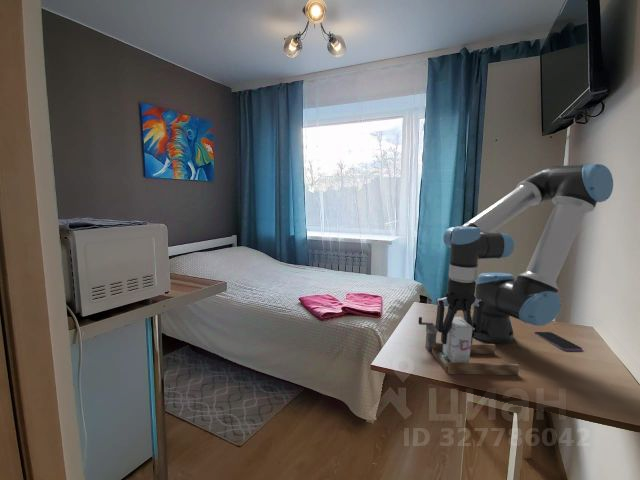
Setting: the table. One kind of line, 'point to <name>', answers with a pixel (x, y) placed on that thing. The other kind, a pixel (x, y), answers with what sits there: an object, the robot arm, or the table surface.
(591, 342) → the table surface
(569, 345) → the smartphone
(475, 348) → the bay
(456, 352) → the ink box
